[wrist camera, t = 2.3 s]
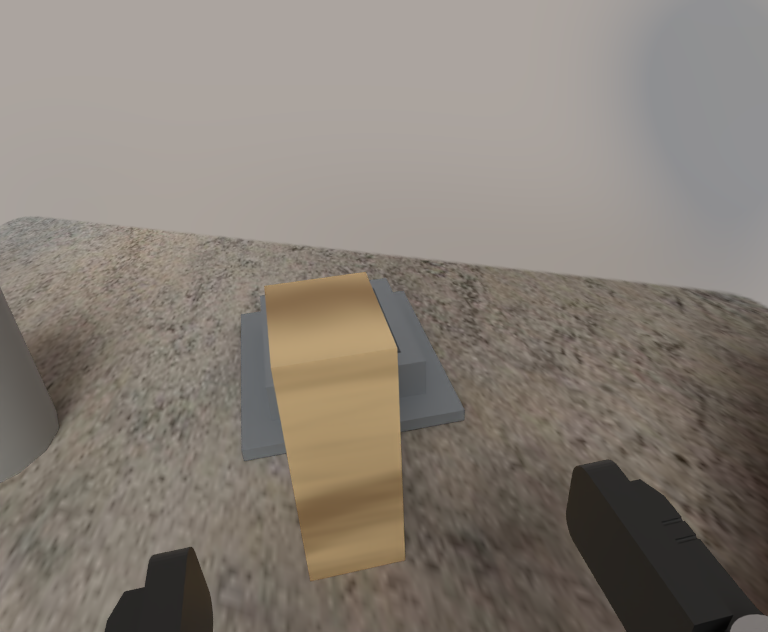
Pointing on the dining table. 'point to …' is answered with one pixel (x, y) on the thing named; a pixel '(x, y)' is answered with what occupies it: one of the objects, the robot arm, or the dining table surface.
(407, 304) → the grey socket base
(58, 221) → the dining table surface
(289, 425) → the wooden block
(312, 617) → the dining table surface
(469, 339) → the dining table surface
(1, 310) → the cup
